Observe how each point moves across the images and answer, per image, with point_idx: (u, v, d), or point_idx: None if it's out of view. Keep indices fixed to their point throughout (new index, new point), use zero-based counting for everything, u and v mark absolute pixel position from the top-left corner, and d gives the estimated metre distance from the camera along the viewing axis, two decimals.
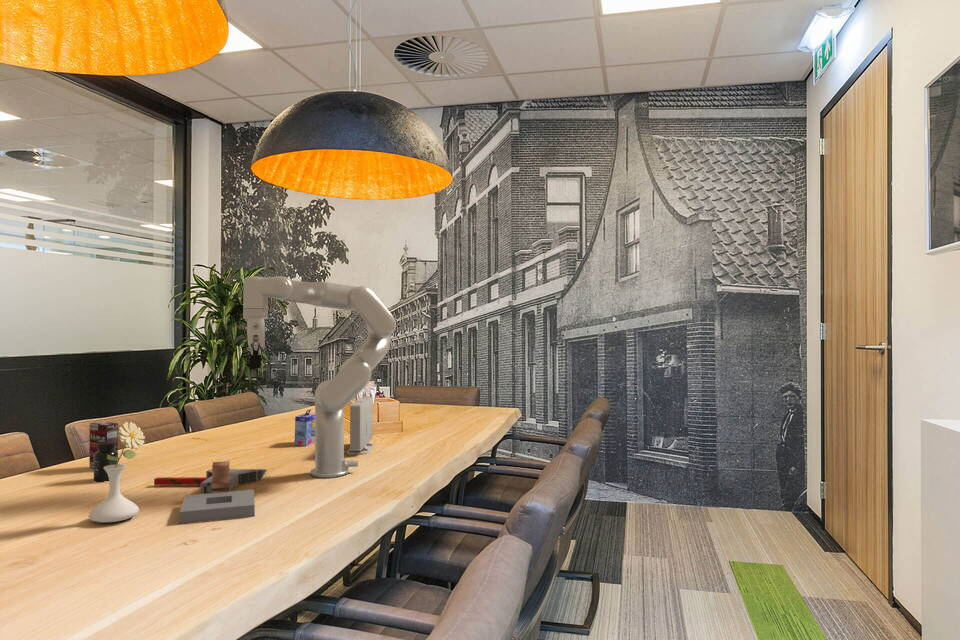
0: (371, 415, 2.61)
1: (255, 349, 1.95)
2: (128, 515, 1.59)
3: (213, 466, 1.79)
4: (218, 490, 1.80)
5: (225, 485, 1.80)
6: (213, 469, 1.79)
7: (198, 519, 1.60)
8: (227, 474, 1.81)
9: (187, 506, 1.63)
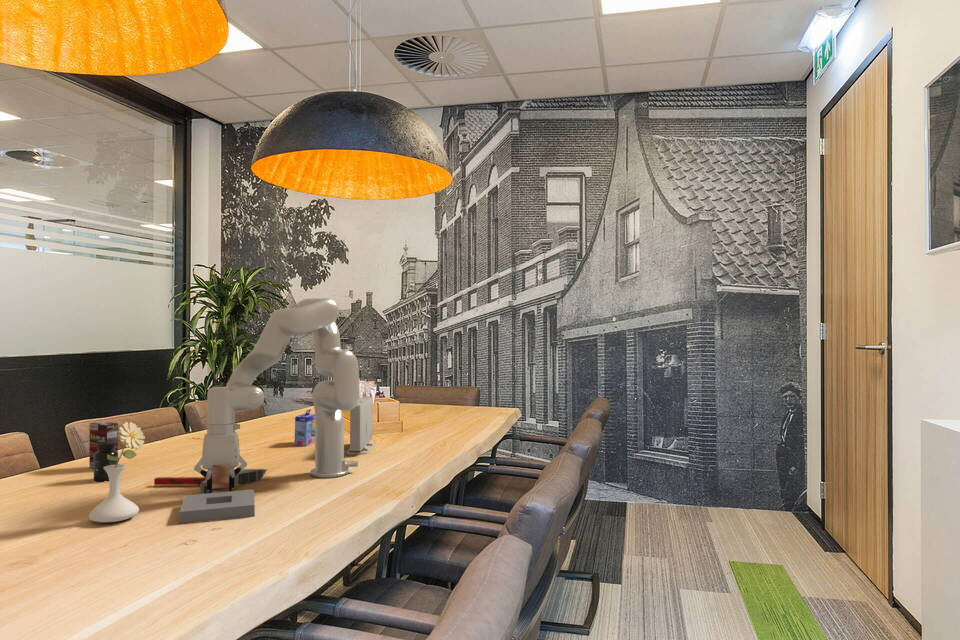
0: (371, 415, 2.61)
1: None
2: (128, 515, 1.59)
3: (213, 466, 1.79)
4: (218, 490, 1.80)
5: (225, 485, 1.80)
6: (213, 469, 1.79)
7: (198, 519, 1.60)
8: (227, 474, 1.81)
9: (187, 506, 1.63)
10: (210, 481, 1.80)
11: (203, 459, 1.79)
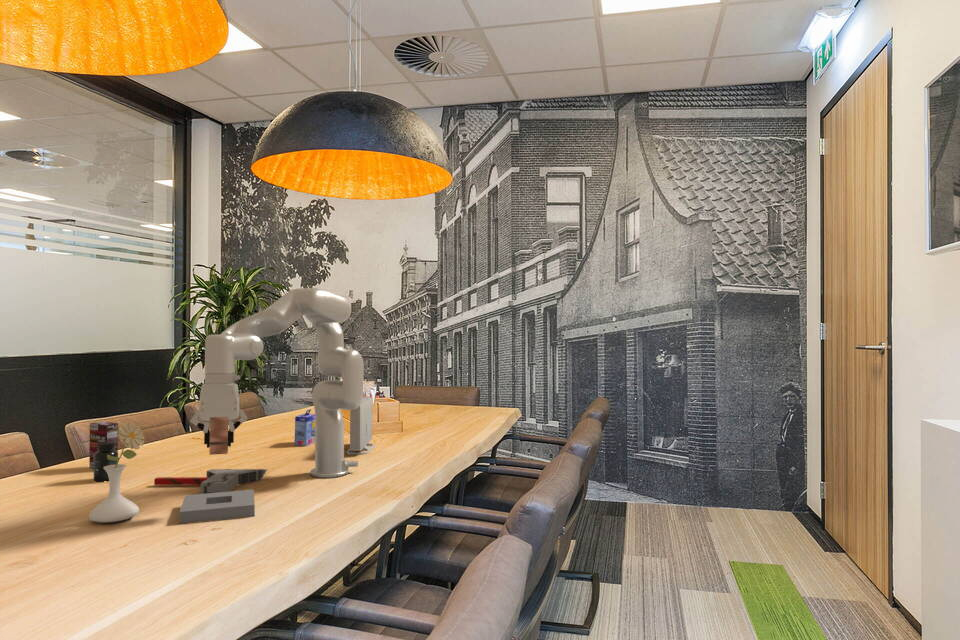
0: (371, 415, 2.61)
1: None
2: (128, 515, 1.59)
3: (211, 418, 1.67)
4: (216, 444, 1.67)
5: (223, 439, 1.68)
6: (211, 421, 1.67)
7: (198, 519, 1.60)
8: (226, 427, 1.68)
9: (187, 506, 1.63)
10: (208, 434, 1.67)
11: (200, 410, 1.66)
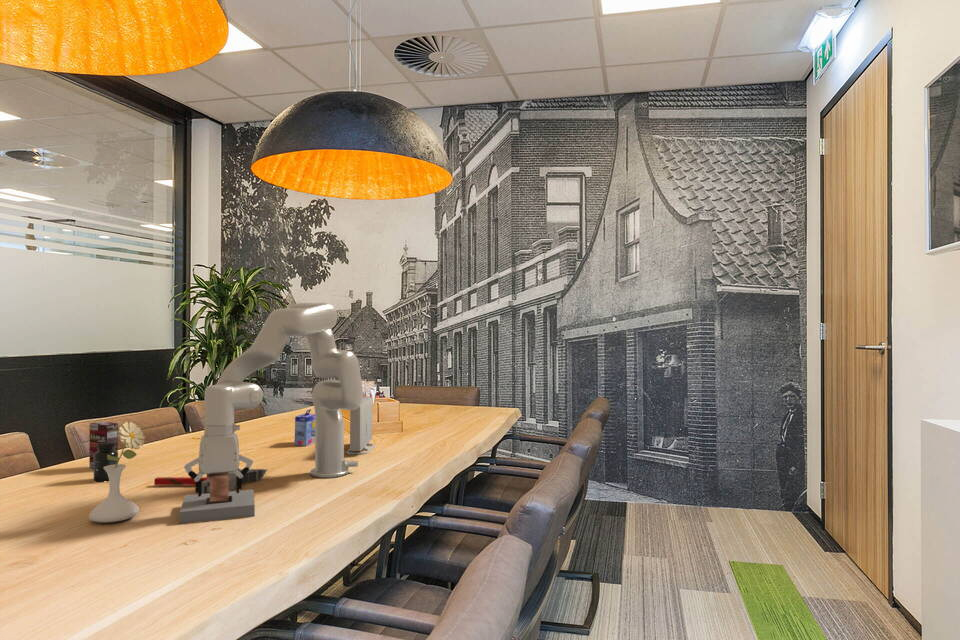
0: (371, 415, 2.61)
1: None
2: (128, 515, 1.59)
3: (211, 478, 1.66)
4: None
5: (223, 498, 1.67)
6: (211, 481, 1.66)
7: (198, 519, 1.60)
8: (226, 486, 1.68)
9: (187, 506, 1.63)
10: (199, 483, 1.66)
11: (200, 463, 1.65)
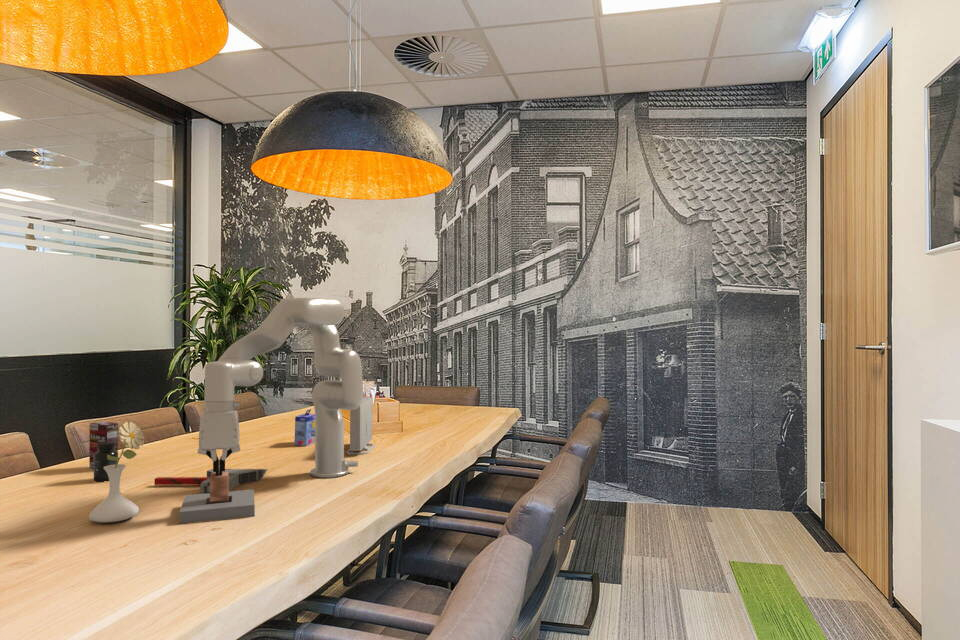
0: (371, 415, 2.61)
1: None
2: (128, 515, 1.59)
3: (211, 477, 1.66)
4: None
5: (223, 497, 1.67)
6: (211, 481, 1.66)
7: (198, 519, 1.60)
8: (226, 486, 1.68)
9: (187, 506, 1.63)
10: (216, 462, 1.67)
11: (200, 439, 1.65)
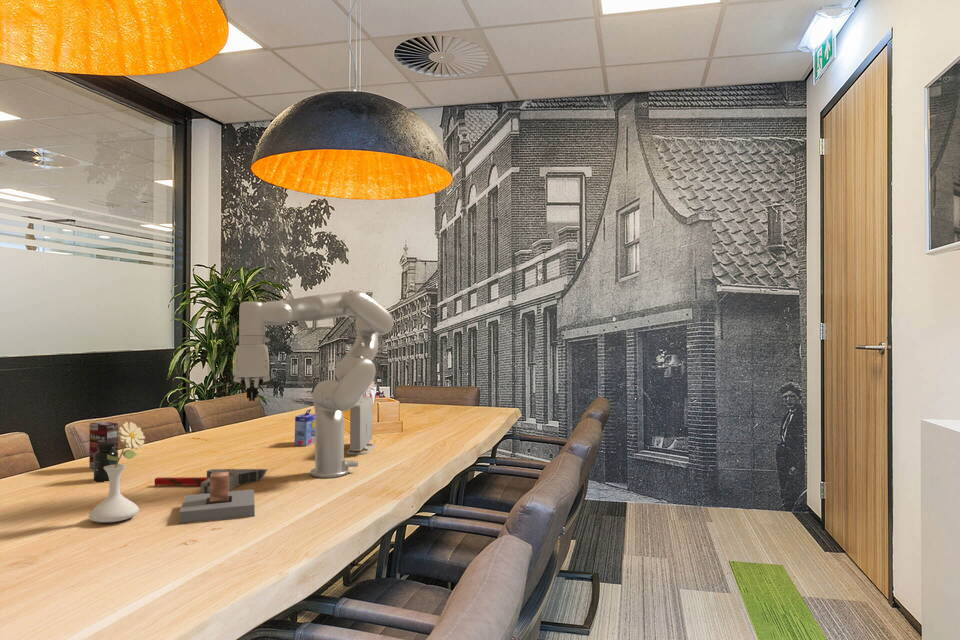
0: (371, 415, 2.61)
1: None
2: (128, 515, 1.59)
3: (211, 477, 1.66)
4: None
5: (223, 497, 1.67)
6: (211, 481, 1.66)
7: (198, 519, 1.60)
8: (226, 486, 1.68)
9: (187, 506, 1.63)
10: (250, 389, 1.91)
11: (236, 368, 1.89)
